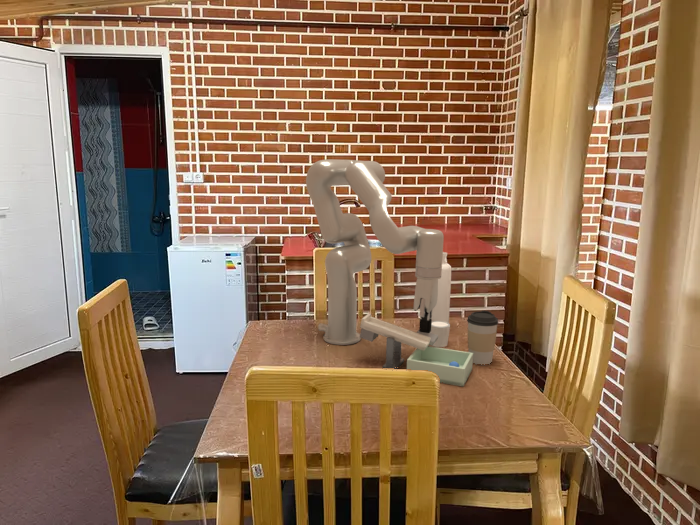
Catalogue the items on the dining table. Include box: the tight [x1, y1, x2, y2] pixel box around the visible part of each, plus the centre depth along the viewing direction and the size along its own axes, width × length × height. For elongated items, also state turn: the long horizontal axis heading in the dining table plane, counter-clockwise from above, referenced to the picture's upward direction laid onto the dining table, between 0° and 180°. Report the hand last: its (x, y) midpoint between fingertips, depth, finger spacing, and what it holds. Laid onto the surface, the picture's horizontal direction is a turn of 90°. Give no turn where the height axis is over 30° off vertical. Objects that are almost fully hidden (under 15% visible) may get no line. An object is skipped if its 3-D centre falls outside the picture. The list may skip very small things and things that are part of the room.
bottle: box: [431, 251, 452, 324], centre depth 183 cm, size 8×8×28 cm
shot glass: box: [430, 321, 451, 348], centre depth 171 cm, size 7×7×7 cm
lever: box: [359, 313, 438, 351], centre depth 155 cm, size 21×12×6 cm, turn 67°
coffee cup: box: [467, 310, 499, 366], centre depth 156 cm, size 9×9×15 cm
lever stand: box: [382, 337, 405, 370], centre depth 153 cm, size 4×8×10 cm, turn 157°
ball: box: [449, 361, 459, 367], centre depth 146 cm, size 3×3×3 cm
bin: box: [406, 345, 473, 387], centre depth 148 cm, size 16×13×5 cm
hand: (425, 331), depth 154 cm, fingers closed
